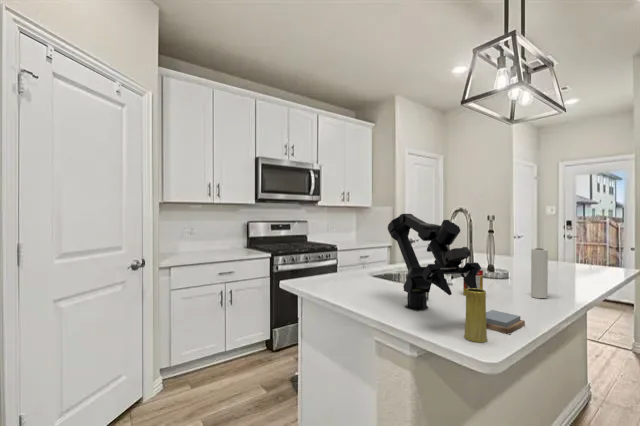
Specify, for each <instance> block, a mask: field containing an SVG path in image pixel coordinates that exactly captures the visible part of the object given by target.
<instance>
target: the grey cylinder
mask: <svg viewBox="0 0 640 426" xmlns="http://www.w3.org/2000/svg"><path fill="white" fill-rule="evenodd" d="M530 252H531V253H530V254H531V255H530V257H531V258H530V260H531V261H530V262H531V264H530V265H531V269H530V274H531V275H530V278H531V279H530V280H531V281H530V295H531V296H530V297H532V298H534V299H540V298H546V299H548V297H549V296H548V290H549V289H548V287H549V286H548V285H549V284H548V279H549V278H548V275H549V274H548V271H549V269H548V265H549V264H548V263H549V262H548V261H549V260H548V259H549V258H548V257H549V255H548V254H549V253H548V252H549V250H548V249H546V248H537V247H535V248H531V251H530Z"/></svg>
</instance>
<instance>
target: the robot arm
mask: <svg viewBox="0 0 640 426" xmlns="http://www.w3.org/2000/svg"><path fill="white" fill-rule="evenodd" d="M387 230H388V231H387V232H388V233H389V235H390V237H391V238H392V239H393V240H395V242H397V245H398V248H399V250H400V253H401V255H402V257H403V258H402V259H403V262H404V264H405V265H406V269H407V274H406V280H405V282H404V284H403V291H404V292H405V293H407V304H406V305H404V307H405V308H408V309H410V310H411V309H412V310H415V311H422V310H423V311H424V310H425V309H428V308H429V306H428V305H427V302H428V301H427V297H426V292H429V293H430V291H431V286H432V284H433V285H435V286H436V287H437V288H439V289H440V290H442V292H444V293H446V294H447V295H448V296H451V295H452V290H451V287H450V286H449V284H448V282H447V280H446V277H445V275H461V277H462V279H463V280H462V281H463V283H464V282H465V283H466V284H467V285H468V286H469V288H477V285H476V274H477V273H478V272H479V271H480V270H481V269H482V267H481V265H480V263H479V262H475V261H473V262H466V263H465V264H464V265H463V266H461V267H460V265H462V264H463V262H462V261H463V260H466V259H469V257H471V254H472V253H471V250H470V249H469V247H468V246H463V247H457V248H454V247H453V248H451V249H450V247H449V246H450V245H452V244H453V243H454V241H455V240H456V239H457V237H458V236H459V234H460V233H461V228H460V226H459V225H457V224H456V223H454V222H452V221H451V220H450V219H443V220H442V222H441V225H440V224H435V223H428V222H426V221H424V220H423V219H420V218H418V217H417V216H415V215H414V214H412V213H401V214H400V215H398V216H397V217H395V218H393V219H391V221H390V222H389V223H388V225H387ZM410 230H413V231H415V232H416V233H417V236H418V237H419V239H420V240H422V241H423V242H429V243H428V244H427V247H426V252H428V253H432V255H433V257H434V261H433V263H427V266H421V265H420V263H419V260H418V257H417V255H416V253H415V250H414V248H413V246H412V243H411V241H410V237H409V235H410Z"/></svg>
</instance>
